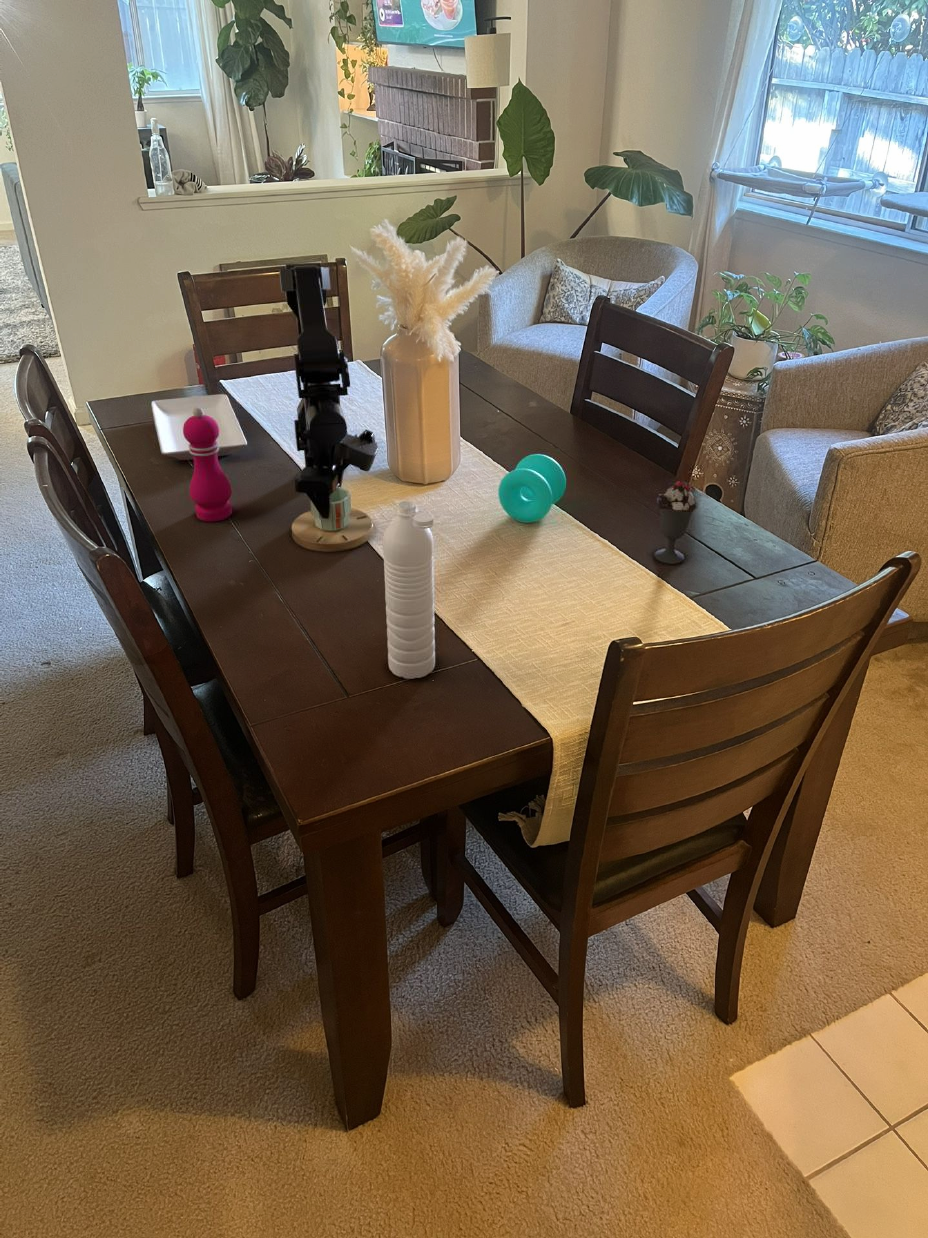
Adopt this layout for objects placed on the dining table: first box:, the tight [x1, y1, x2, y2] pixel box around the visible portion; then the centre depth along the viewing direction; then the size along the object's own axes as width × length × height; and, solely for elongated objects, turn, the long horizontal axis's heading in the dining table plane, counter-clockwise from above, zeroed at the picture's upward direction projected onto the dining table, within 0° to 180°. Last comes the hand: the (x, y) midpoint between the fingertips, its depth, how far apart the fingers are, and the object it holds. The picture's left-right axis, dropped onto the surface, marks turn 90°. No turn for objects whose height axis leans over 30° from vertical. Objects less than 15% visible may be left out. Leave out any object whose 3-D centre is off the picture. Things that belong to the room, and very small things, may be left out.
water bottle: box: [382, 500, 436, 680], centre depth 120 cm, size 9×6×25 cm
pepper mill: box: [183, 407, 233, 522], centre depth 160 cm, size 7×7×20 cm
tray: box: [150, 393, 248, 461], centre depth 195 cm, size 17×31×4 cm, turn 20°
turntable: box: [291, 507, 374, 553], centre depth 160 cm, size 14×14×2 cm
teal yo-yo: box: [497, 453, 567, 524], centre depth 164 cm, size 10×10×10 cm
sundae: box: [653, 471, 699, 565], centre depth 150 cm, size 7×7×15 cm
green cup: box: [309, 486, 352, 531], centre depth 158 cm, size 7×7×6 cm
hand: (330, 508), depth 158 cm, fingers closed on green cup, 7 cm apart
